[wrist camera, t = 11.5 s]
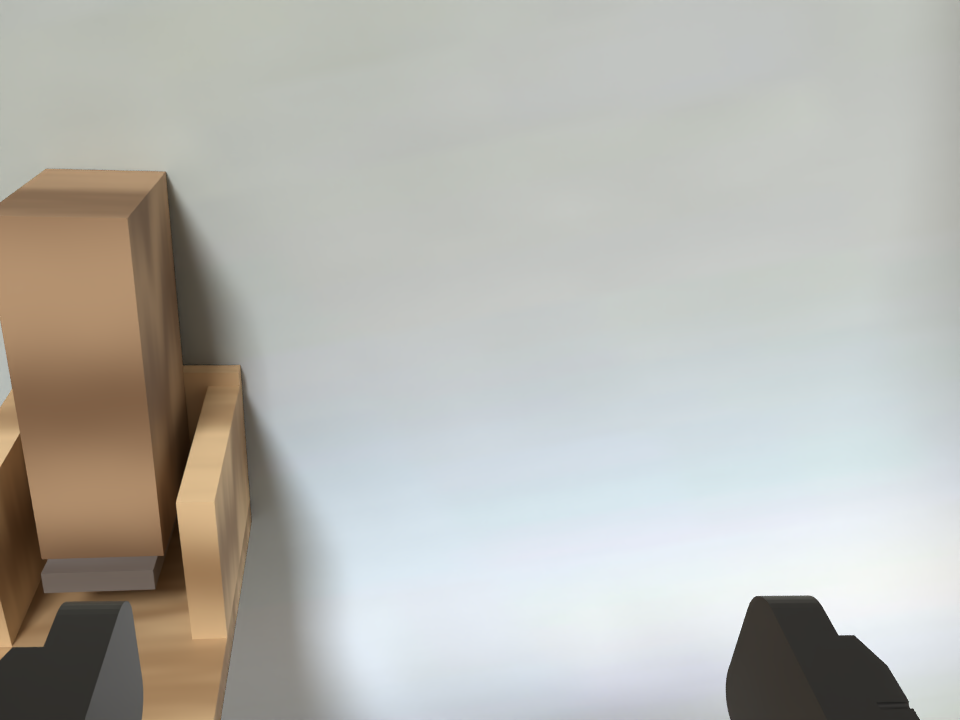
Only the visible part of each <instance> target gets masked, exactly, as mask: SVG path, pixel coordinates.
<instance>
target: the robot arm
mask: <svg viewBox="0 0 960 720" xmlns="http://www.w3.org/2000/svg"><path fill="white" fill-rule="evenodd" d="M726 700H727V707H728V712H729V716H730V719H731V720H920V719H919V717H918V716H917V714H916V712H915V711H914V709H910V708H909V701H908V699H907V698H906V696H905V694H904V693H903V691H902V689H901V688H900V686H899V684H898V683H897V681H896V679H895V678H894V676H893V674H892V673H891V671H890V669H889V668H888V666H887V665H886V664H885V663H884V662H883V661H882V660H880V659H879V658H878V657H877V656H876V655H875V654H874V653H873V652H872V651H871V650H870V649H868V648H867V647H866V646H865V645H864V644H863V643H862V642H861V641H860V640H859V639H858V638H857V637H855V636H854V635H845V636H838V634H837V632H836V630H835V628H834V627H833V625H832V623H831V621H830V620H829V618H828V616H827V614H826V613H825V611H824V609H823V607H822V606H821V604H820V603H819V602H818V600H817V599H815V598H814V597H812V596H756V597H754V598H753V599H752V600H751V602H750V604H749V607H748V609H747V613H746V616H745V619H744V622H743V625H742V628H741V631H740V635H739V638H738V641H737V644H736V647H735V650H734V653H733V657H732V660H731V663H730V666H729V669H728V673H727V678H726ZM142 713H143V680H142V673H141V666H140V660H139V653H138V646H137V639H136V632H135V625H134V618H133V612H132V607H131V604H130V603H129V602H128V601H73V602H64V603H63V604H62V605H61V606H60V608H59V609H58V611H57V614H56V616H55V619H54V621H53V624H52V626H51V629H50V631H49V634H48V636H47V639H46V641H45V644H44V646H43V647H12V648H11V649H10V650H9V651H8V652H7V653H6V654H5V655H4V657H3V658H2V659H1V660H0V720H142Z"/></svg>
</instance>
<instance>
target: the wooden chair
mask: <svg viewBox="0 0 960 720" xmlns="http://www.w3.org/2000/svg"><path fill="white" fill-rule="evenodd" d="M183 373H184V385H185V396H186V408H187V419H188V430H189V442H190V453H189V457H188V461H187V464H186V468H185V471H184V475H183V479H182V482H181V486H180V489H179V493H178V497H177V500H176V508H177V516H178V518H177V521H176V524H175V527H174V530H173V534H172V537H171V540H170V543H169V547H168V550H167V553H166V556H165V559H164V563H163V566H162V569H161V572H160V576H159V579H158V582H157V585H156V588H155V589H152V590H122V591H93V592H64V593H44V589H43V584H42V578H41V572H42V570H43V568H44V566H45V564H46V562H47V560H48V559H42V557H41V551H40V546H39V540H38V534H37V528H36V523H35V517H34V511H33V505H32V500H31V494H30V488H29V482H28V476H27V471H26V465H25V459H24V453H23V448H22V442H21V436H20V430H19V425H18V419H17V413H16V407H15V402H14V396H13V390H11V392H10V393H9V395H8V396H7V398H6V399H5V401H4V403H3V404H2V406H1V407H0V660H1V659H2V658H3V657H4V655H5V654H6V653H7V652H8V651H9V650H10V649H11V648H12V647H43V646H44V644H45V641H46V639H47V636H48V634H49V631H50V629H51V626H52V624H53V621H54V619H55V616H56V614H57V611H58V609H59V608H60V606H61V605H62V604H63V603H64V602H73V601H128V602H129V603H130V604H131V607H132V612H133V618H134V625H135V632H136V639H137V646H138V653H139V660H140V666H141V673H142V680H143V713H142V720H221V714H222V708H223V701H224V695H225V689H226V682H227V676H228V669H229V663H230V657H231V650H232V644H233V637H234V631H235V624H236V618H237V612H238V605H239V599H240V592H241V586H242V580H243V573H244V567H245V560H246V554H247V548H248V541H249V535H250V528H251V522H252V521H251V507H250V493H249V479H248V465H247V451H246V437H245V423H244V409H243V396H242V382H241V368H240V365H183Z"/></svg>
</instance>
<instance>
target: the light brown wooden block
mask: <svg viewBox="0 0 960 720" xmlns="http://www.w3.org/2000/svg"><path fill="white" fill-rule="evenodd" d="M0 321H1V327H2V332H3V338H4V344H5V350H6V355H7V361H8V367H9V373H10V379H11V384H12V390H13V396H14V402H15V407H16V413H17V419H18V425H19V430H20V436H21V442H22V448H23V453H24V459H25V465H26V471H27V476H28V482H29V488H30V494H31V500H32V505H33V511H34V517H35V523H36V528H37V534H38V540H39V546H40V551H41V557H42V559H48V560H47V562H46V564H45V566H44V568H43V570H42V572H41V578H42V584H43V589H44V593H64V592H93V591H122V590H152V589H155V588H156V585H157V582H158V579H159V576H160V572H161V569H162V566H163V563H164V559H165V556H166V553H167V550H168V547H169V543H170V540H171V537H172V534H173V530H174V527H175V524H176V521H177V518H178V516H177V508H176V500H177V497H178V493H179V489H180V486H181V482H182V479H183V475H184V471H185V468H186V464H187V461H188V457H189V453H190V442H189V430H188V419H187V408H186V396H185V385H184V373H183V362H182V351H181V339H180V328H179V317H178V305H177V294H176V283H175V271H174V260H173V249H172V237H171V226H170V215H169V203H168V192H167V181H166V172H158V171H115V170H73V169H45V170H44V171H42V172H41V173H40V174H38V175H37V176H36V177H34V178H33V179H31V180H30V181H29V182H27V183H26V184H25V185H23V186H22V187H21V188H19V189H18V190H17V191H15V192H14V193H12V194H11V195H10V196H8V197H7V198H6V199H4V200H3V201H2V202H0Z"/></svg>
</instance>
